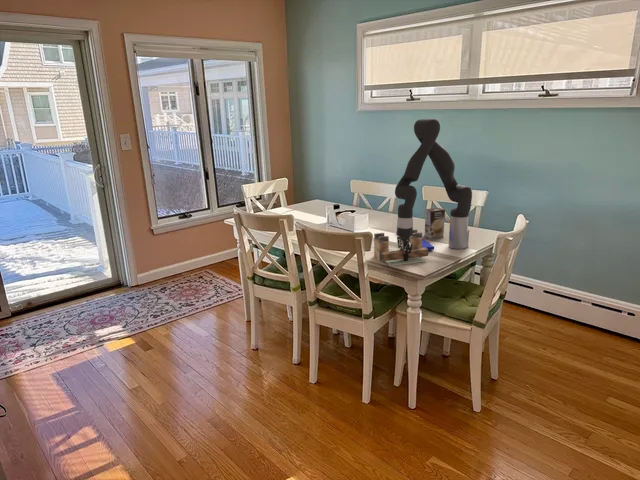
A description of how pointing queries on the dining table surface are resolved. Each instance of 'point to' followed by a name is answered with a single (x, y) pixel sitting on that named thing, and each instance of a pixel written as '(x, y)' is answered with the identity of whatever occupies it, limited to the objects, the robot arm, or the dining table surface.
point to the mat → (401, 261)
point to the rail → (400, 254)
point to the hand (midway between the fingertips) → (404, 259)
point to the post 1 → (380, 244)
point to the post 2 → (416, 239)
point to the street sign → (427, 245)
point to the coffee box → (434, 223)
